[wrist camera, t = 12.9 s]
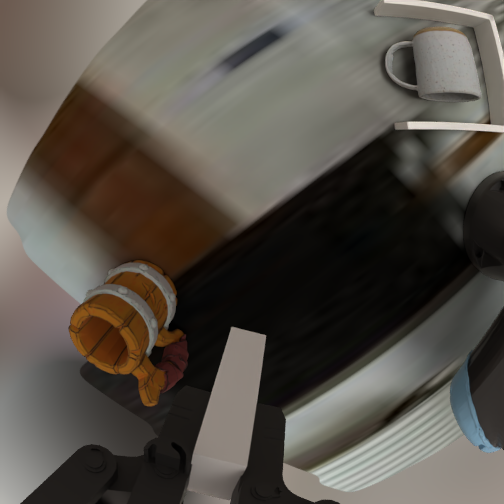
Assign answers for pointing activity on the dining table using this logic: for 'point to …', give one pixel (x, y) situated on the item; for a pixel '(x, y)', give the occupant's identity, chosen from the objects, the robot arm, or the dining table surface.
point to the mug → (132, 327)
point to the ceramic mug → (440, 65)
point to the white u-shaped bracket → (494, 63)
